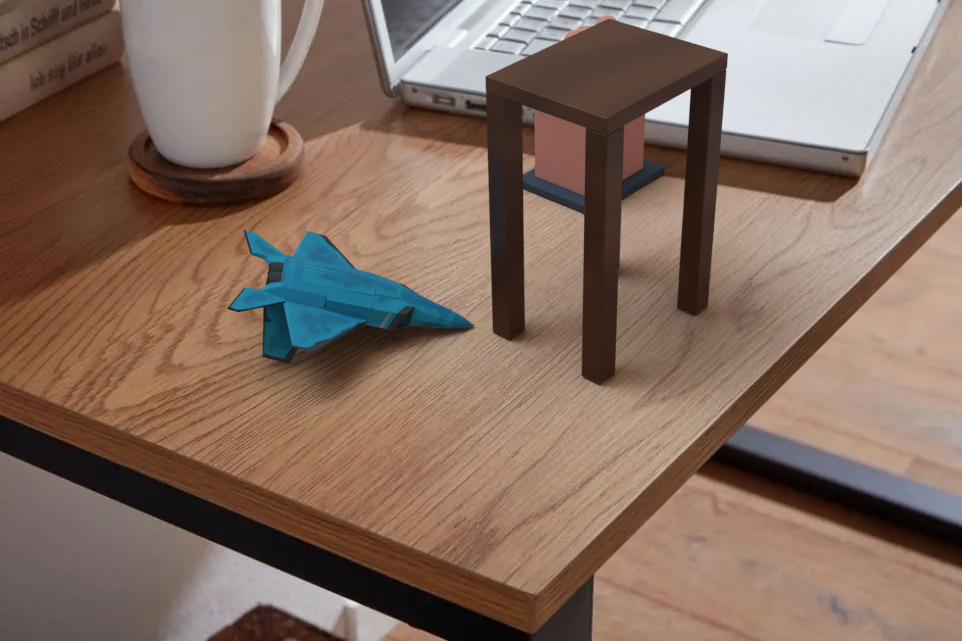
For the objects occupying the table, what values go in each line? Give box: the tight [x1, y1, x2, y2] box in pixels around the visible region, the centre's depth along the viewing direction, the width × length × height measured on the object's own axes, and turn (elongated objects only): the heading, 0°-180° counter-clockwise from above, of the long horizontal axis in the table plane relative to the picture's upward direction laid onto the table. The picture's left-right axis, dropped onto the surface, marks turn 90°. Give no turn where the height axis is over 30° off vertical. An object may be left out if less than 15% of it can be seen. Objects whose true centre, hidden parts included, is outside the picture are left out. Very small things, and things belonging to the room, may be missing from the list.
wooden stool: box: [484, 19, 729, 385], centre depth 65 cm, size 7×9×14 cm
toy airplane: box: [226, 229, 475, 365], centre depth 68 cm, size 12×10×4 cm
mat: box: [523, 158, 666, 214], centre depth 81 cm, size 6×7×1 cm
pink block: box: [534, 14, 646, 196], centre depth 78 cm, size 4×5×10 cm
